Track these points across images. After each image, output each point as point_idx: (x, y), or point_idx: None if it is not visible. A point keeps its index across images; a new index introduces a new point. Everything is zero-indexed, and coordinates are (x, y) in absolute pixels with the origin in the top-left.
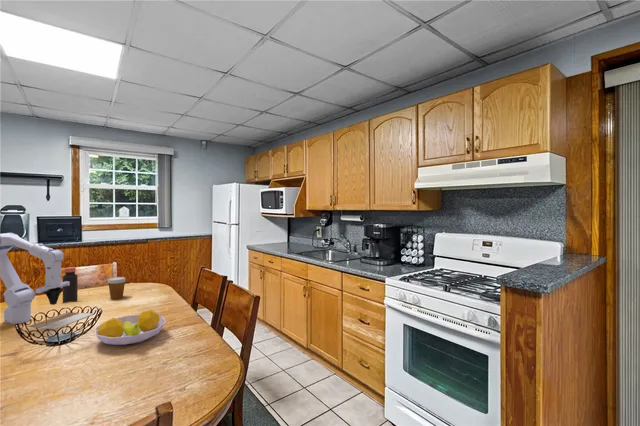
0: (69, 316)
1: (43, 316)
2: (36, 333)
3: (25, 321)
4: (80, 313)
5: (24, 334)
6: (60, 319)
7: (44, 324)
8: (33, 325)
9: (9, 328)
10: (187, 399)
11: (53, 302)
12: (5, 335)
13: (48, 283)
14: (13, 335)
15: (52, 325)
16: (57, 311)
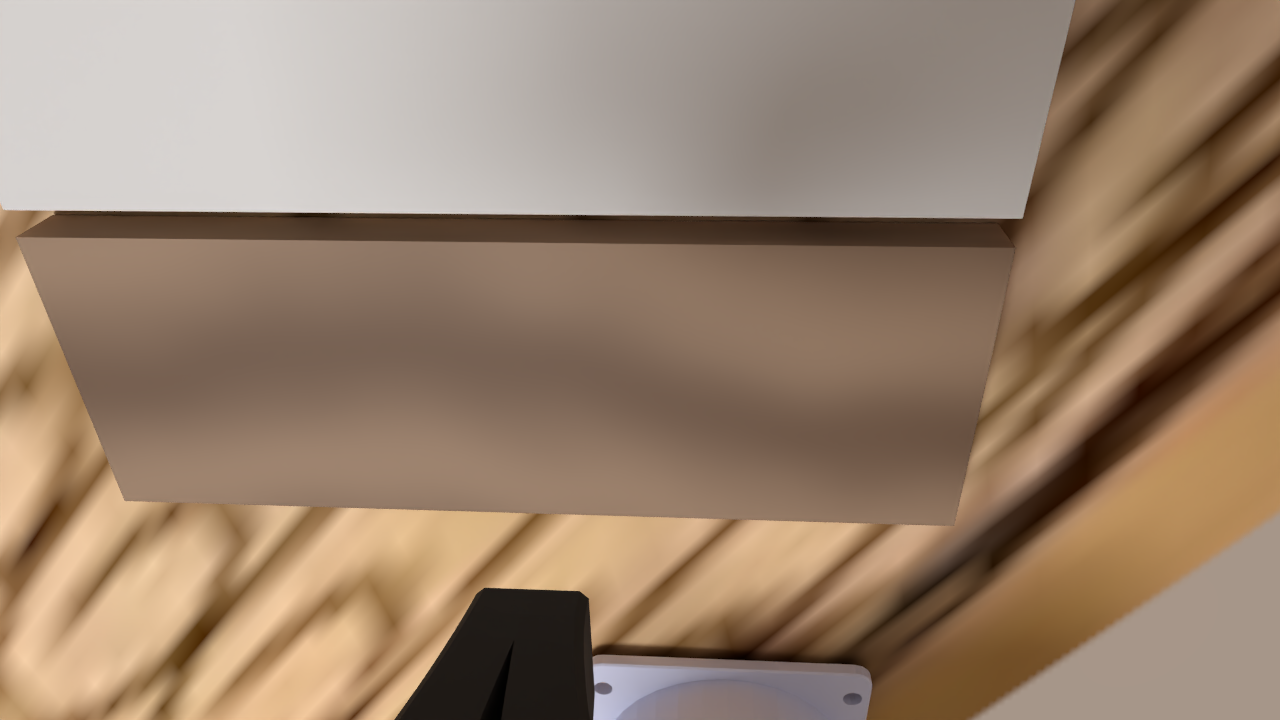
0: (266, 266)
1: (404, 705)
2: (1169, 122)
3: (745, 705)
4: (22, 202)
5: (1213, 303)
6: (476, 282)
7: (807, 328)
8: (890, 465)
9: (929, 709)
10: None
11: (586, 663)
12: (1236, 541)
13: None
14: (1250, 434)
15: (865, 76)
16: (171, 705)
